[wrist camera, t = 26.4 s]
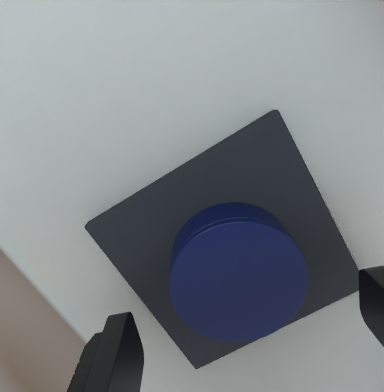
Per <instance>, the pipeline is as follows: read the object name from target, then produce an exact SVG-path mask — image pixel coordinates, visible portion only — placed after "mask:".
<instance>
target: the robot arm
mask: <svg viewBox="0 0 384 392" xmlns="http://www.w3.org/2000/svg"><path fill="white" fill-rule="evenodd" d="M359 300H360V311H361V314H362V317H363V319H364V321H365V323H366V325H367V326H368V328H369V329H370V330H371V331H372V333H373V334H374V335H375V337H376V338H377V339H378V340H379V342H380V343H381V344H382V346H383V347H384V266H378V267H372V268H367V269H362V270H360V271H359ZM143 366H144V352H143V346H142V343H141V340H140V336H139V333H138V330H137V327H136V324H135V321H134V318H133V315H132V313H131V312H126V313H120V314H115V315H110V316H108V318H107V321H106V324H105V327H104V330H103V332H101V333H96V334H94V336H93V337H92V338H91V339H90V341H89V342H88V343H87V344H86V346H85V347H84V350H83V352H82V355H81V357H80V362H79V363H78V365H77V367H76V370H75V374H74V375H73V377H72V380H71V383H70V385H69V388H68V390H67V392H140V386H141V380H142V373H143Z"/></svg>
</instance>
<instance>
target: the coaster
mask: <svg viewBox="0 0 384 392" xmlns="http://www.w3.org/2000/svg"><path fill="white" fill-rule="evenodd" d="M234 202H235V203H246V204H250V205H254V206H257V207H259V208H262V209H264V210H265V211H267V212H269V213H270V214H271V215H273V216H274V217H275V218H276V219H277V220H278V221H279V222H280V223H281V224H282V226H283V227H284V228H285V230H286V231H287V232H288V234H289V235H290V237H291V238H292V239H293V241H294V242H295V243H296V245H297V246H298V247H299V249H300V250H301V252H302V254H303V256H304V258H305V261H306V264H307V268H308V277H309V282H308V289H307V293H306V296H305V299H304V301H303V303H302V305H301V307H300V308H299V310H298V312H297V313H296V314H295V315H294V317H293V318H292V319H291V320H290V321H289V322H288V323H287V324H285V325H284V326H286V325H288V324H290V323H293V322H295V321H297V320H299V319H301V318H303V317H305V316H307V315H309V314H311V313H313V312H315V311H317V310H319V309H321V308H323V307H325V306H327V305H329V304H331V303H333V302H336V301H338V300H340V299H342V298H344V297H346V296H348V295H350V294H352V293H354V292H356V291H358V290H359V270H358V268H357V266H356V264H355V262H354V260H353V258H352V256H351V254H350V252H349V250H348V248H347V246H346V244H345V242H344V240H343V238H342V236H341V234H340V232H339V230H338V228H337V226H336V224H335V222H334V220H333V218H332V216H331V214H330V212H329V210H328V208H327V206H326V204H325V202H324V200H323V198H322V196H321V194H320V192H319V190H318V188H317V186H316V184H315V182H314V180H313V178H312V176H311V174H310V172H309V170H308V168H307V166H306V164H305V162H304V160H303V158H302V156H301V154H300V152H299V150H298V148H297V146H296V144H295V142H294V140H293V138H292V136H291V134H290V132H289V130H288V128H287V127H286V125H285V123H284V121H283V119H282V117H281V115H280V113H279V111H278V110H272V111H271V112H269V113H267V114H266V115H264V116H262V117H261V118H259V119H257V120H256V121H254V122H253V123H251V124H249V125H248V126H246V127H244V128H243V129H241V130H239V131H238V132H236V133H234V134H233V135H231V136H229V137H228V138H226V139H224V140H223V141H221V142H219V143H218V144H216V145H215V146H213V147H211V148H210V149H208V150H206V151H205V152H203V153H201V154H200V155H198V156H196V157H195V158H193V159H191V160H190V161H188V162H186V163H185V164H183V165H181V166H180V167H178V168H177V169H175V170H173V171H172V172H170V173H168V174H167V175H165V176H163V177H162V178H160V179H158V180H157V181H155V182H153V183H152V184H150V185H148V186H147V187H145V188H143V189H142V190H140V191H139V192H137V193H135V194H134V195H132V196H130V197H129V198H127V199H125V200H124V201H122V202H120V203H119V204H117V205H115V206H114V207H112V208H110V209H109V210H107V211H105V212H104V213H102V214H101V215H99V216H97V217H96V218H94V219H92V220H91V221H89V222H88V223H87V224H86V225H85V229H86V230H87V231H88V233H89V234H90V235H91V236H92V238H93V239H94V240H95V241H96V243H97V244H98V245H99V247H100V248H101V249H102V250H103V252H104V253H105V254H106V255H107V257H108V258H109V259H110V261H111V262H112V263H113V264H114V266H115V267H116V268H117V269H118V271H119V272H120V273H121V275H122V276H123V277H124V278H125V280H126V281H127V282H128V283H129V285H130V286H131V287H132V289H133V290H134V291H135V292H136V294H137V295H138V296H139V297H140V299H141V300H142V301H143V303H144V304H145V305H146V306H147V308H148V309H149V310H150V311H151V313H152V314H153V315H154V317H155V318H156V319H157V320H158V322H159V323H160V324H161V325H162V327H163V328H164V329H165V331H166V332H167V333H168V334H169V336H170V337H171V338H172V339H173V341H174V342H175V343H176V345H177V346H178V347H179V348H180V350H181V351H182V352H183V353H184V355H185V356H186V357H187V359H188V360H189V361H190V362H191V364H192V365H193V366H194V367H195V369H198V368H200V367H202V366H204V365H206V364H209V363H211V362H213V361H215V360H217V359H219V358H221V357H223V356H225V355H227V354H229V353H231V352H233V351H235V350H237V349H239V348H241V347H243V346H245V345H247V344H249V343H252V342H254V341H256V340H258V339H256V340H252V341H246V342H223V341H218V340H214V339H211V338H208V337H206V336H203V335H201V334H199V333H198V332H196V331H194V330H193V329H192V328H190V327H189V326H188V325H187V324H186V323H185V322H184V321H183V320H182V319H181V318H180V316H179V315H178V314H177V312H176V310H175V308H174V306H173V304H172V301H171V298H170V293H169V276H170V265H171V255H172V248H173V244H174V241H175V239H176V237H177V235H178V233H179V231H180V230H181V228H182V227H183V226H184V225H185V224H186V222H188V221H189V220H190V219H191V218H192V217H193V216H195V215H196V214H197V213H199V212H201V211H202V210H204V209H206V208H209V207H211V206H214V205H218V204H223V203H234ZM284 326H283V327H284ZM281 328H282V327H281ZM259 339H260V338H259Z"/></svg>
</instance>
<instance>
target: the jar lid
mask: <svg viewBox="0 0 384 392" xmlns="http://www.w3.org/2000/svg"><path fill="white" fill-rule="evenodd" d="M308 282H309V277H308V268H307V264H306V261H305V258H304V256H303V254H302V252H301V250H300V249H299V247H298V246H297V245H296V243H295V242H294V241H293V239H292V238H291V237H290V235H289V234H288V232H287V231H286V230H285V228H284V227H283V226H282V224H281V223H280V222H279V221H278V220H277V219H276V218H275V217H274V216H273V215H271V214H270V213H269V212H267V211H265V210H264V209H262V208H259V207H257V206H254V205H250V204H246V203H235V202H234V203H223V204H218V205H214V206H211V207H209V208H206V209H204V210H202V211H201V212H199V213H197V214H196V215H195V216H193V217H192V218H191V219H190V220H189V221H188V222H186V224H185V225H184V226H183V227H182V228H181V230H180V231H179V233H178V235H177V237H176V239H175V241H174V244H173V248H172V255H171V265H170V276H169V293H170V298H171V301H172V304H173V306H174V308H175V310H176V312H177V314H178V315H179V316H180V318H181V319H182V320H183V321H184V322H185V323H186V324H187V325H188V326H189V327H190V328H192V329H193V330H194V331H196V332H198V333H199V334H201V335H203V336H206V337H208V338H211V339H214V340H218V341H223V342H246V341H252V340H256V339H259V338H262V337H265V336H267V335H269V334H272V333H274V332H275V331H277V330H278V329H280V328H281V327H283V326H284V325H285V324H287V323H288V322H289V321H290V320H291V319H292V318H293V317H294V315H295V314H296V313H297V312H298V310H299V308H300V307H301V305H302V303H303V301H304V299H305V296H306V293H307V289H308Z"/></svg>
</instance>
